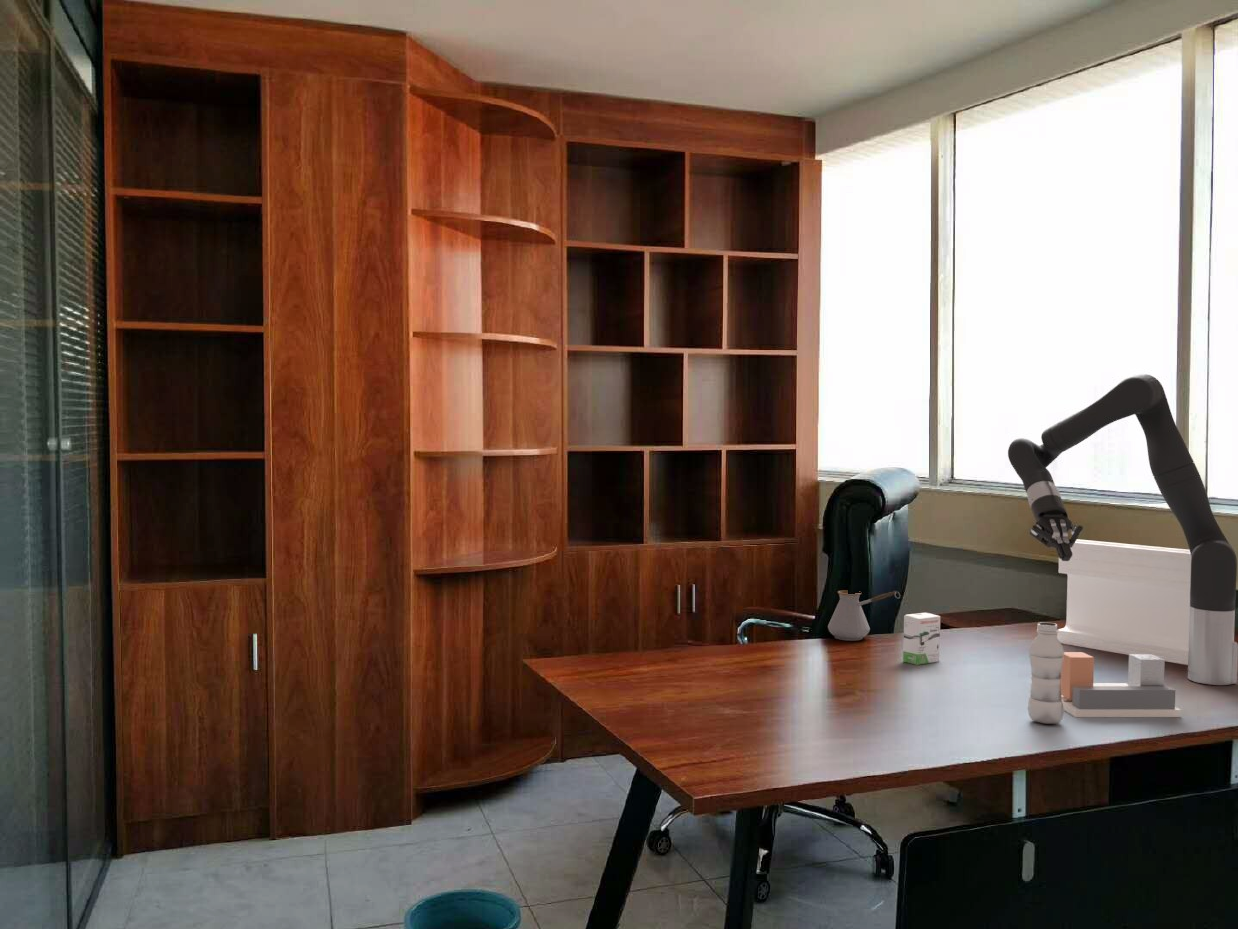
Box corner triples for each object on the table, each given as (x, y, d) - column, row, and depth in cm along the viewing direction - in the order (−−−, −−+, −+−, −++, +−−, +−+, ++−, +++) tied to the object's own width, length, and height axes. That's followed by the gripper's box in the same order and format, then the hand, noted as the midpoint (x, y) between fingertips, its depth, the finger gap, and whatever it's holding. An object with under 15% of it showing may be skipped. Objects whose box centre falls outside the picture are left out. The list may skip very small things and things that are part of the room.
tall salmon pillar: (1058, 693, 229) (1059, 652, 228) (1081, 693, 229) (1082, 652, 228) (1069, 699, 224) (1070, 657, 223) (1092, 699, 224) (1094, 657, 223)
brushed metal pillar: (1127, 696, 227) (1128, 654, 227) (1150, 696, 227) (1151, 654, 227) (1139, 702, 222) (1141, 659, 222) (1163, 702, 222) (1164, 659, 222)
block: (1204, 661, 270) (1208, 551, 269) (1191, 665, 265) (1195, 554, 264) (1070, 638, 297) (1073, 539, 296) (1056, 642, 292) (1059, 541, 290)
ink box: (917, 665, 263) (918, 618, 262) (901, 661, 267) (902, 615, 266) (940, 661, 267) (941, 614, 267) (924, 657, 272) (925, 611, 271)
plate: (1030, 689, 240) (1031, 665, 239) (1126, 689, 240) (1127, 665, 240) (1075, 717, 218) (1075, 690, 217) (1180, 717, 218) (1181, 690, 218)
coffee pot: (819, 637, 296) (820, 584, 295) (843, 632, 303) (844, 580, 303) (886, 650, 280) (887, 593, 279) (909, 644, 288) (910, 589, 287)
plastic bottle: (1060, 729, 209) (1062, 628, 208) (1024, 724, 212) (1026, 624, 212) (1065, 721, 214) (1068, 623, 213) (1030, 716, 218) (1033, 619, 217)
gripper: (1024, 493, 261) (1044, 549, 250) (1077, 493, 262) (1100, 549, 250) (1015, 513, 267) (1034, 568, 255) (1067, 513, 267) (1088, 568, 256)
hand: (1067, 559), depth 253 cm, fingers closed
